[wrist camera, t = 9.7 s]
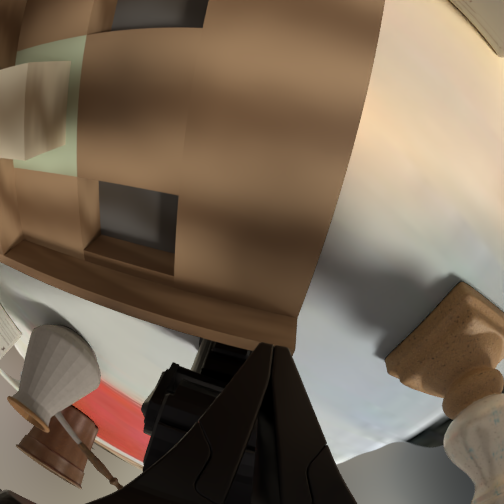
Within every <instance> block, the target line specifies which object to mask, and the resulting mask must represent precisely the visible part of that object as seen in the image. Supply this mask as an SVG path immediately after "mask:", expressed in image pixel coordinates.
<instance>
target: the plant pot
mask: <svg viewBox="0 0 504 504" xmlns="http://www.w3.org/2000/svg"><path fill="white" fill-rule="evenodd" d="M60 412H61V414H62V415H63V417H64V418H65V420H66V421H67V422H68V424H69V425H70V427H71V428H72V429H73V431H74V432H75V433H76V435H77V436H78V437H79V439H80V440H81V441H82V442H83V443H84V444H85V445H86V446H87V447H88V448H89V450H90V451H91V448H92V445H93V443H94V440H95V438H96V435H97V433H98V427H96V426H95V423H94V422H92V421H91V420H90V419H89V418H88V417H87V416H86V415H84V414H83V413H82V412H80V411H79V410H77V409H75V408H74V407H72V406H71V405H70V406H68V407H67V408H65V409H63V410H62V411H60ZM48 428H49V430H50V431H49V432H48V433H47V432H44V431H42V430H41V429H39V428H37V427H36V426H34V427H33V428H32V430H31V431H30V432H29V433H28V435H25V437H24V438H23V439H22V441H21V442H20V443H19V445H16V447H17V448H19V449H20V450H21V451H22V452H24V453H25V454H26V455H27V456H29V457H30V458H31V459H33V460H34V461H36V462H37V463H38V464H40V465H41V466H43V467H44V468H46V469H47V470H49V471H50V472H52V473H54V474H55V475H57V476H59V477H60V478H62V479H63V480H65V481H67V482H68V483H70V484H72V485H74V486H76V487H78V488H80V489H82V487H81V483H82V479H83V476H84V473H83V472H84V468H85V465H86V462H87V459H88V458H87V457H86V456H85V454H84V453H83V452H82V450H81V449H80V448H79V446H78V444H77V443H76V442H75V441H74V440H73V438H72V437H71V436H70V435H69V433H68V432H67V431H66V430H65V428H64V427H63V426H62V424H61V423H60V422H59V420H58V419H57V418H56V416H55V415H54V416H52V417H51V418H50V422H49V426H48Z"/></svg>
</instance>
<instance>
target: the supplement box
mask: <svg viewBox="0 0 504 504" xmlns="http://www.w3.org/2000/svg"><path fill="white" fill-rule="evenodd" d="M450 1H451V2H452V3H453V4H454V5H455V6H456V7H457V8H458V9H459V10H460V11H461V12H462V13H463V14H464V15H465V16H466V17H467V18H468V19H469V20H470V21H471V23H472V24H473V25H474V26H475V27H476V28H477V29H478V31H479V32H480V33H481V34H482V35H483V36H484V38H485V39H486V40H487V41H488V43H489V44H490V45H491V46H492V48H493V49H494V50H495V52H496V53H497V55H498V56H499V57H504V0H450Z"/></svg>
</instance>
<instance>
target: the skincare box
mask: <svg viewBox="0 0 504 504" xmlns="http://www.w3.org/2000/svg"><path fill="white" fill-rule="evenodd" d="M21 335H22V334H21V332H20V331H19V330H18V328H17V327H16V326H15V324H14V323H13V322H12V320H11V319H10V318H9V316H8V315H7V313H6V312H5V311H4V309H3V308H2V306H1V305H0V359H1V358H2V357H3V356H4V355H5V354H6V353H7V352H8V350H9V349H10V348H11V347H12V346H13V345H14V344H15V343H16V341H17V340H18V339H19V338H20V337H21Z"/></svg>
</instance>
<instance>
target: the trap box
mask: <svg viewBox="0 0 504 504" xmlns="http://www.w3.org/2000/svg"><path fill="white" fill-rule="evenodd" d="M384 3H385V0H0V70H1V69H5V68H9V67H12V66H16V65H20V64H24V63H30V62H46V61H71V67H70V76H69V85H68V96H67V111H66V143H65V145H64V146H61V147H58V148H55V149H53V150H50V151H48V152H45V153H42V154H40V155H38V156H35V157H33V158H30V159H28V160H26V161H23V160H15V159H6V158H0V262H1V263H4V264H6V265H8V266H10V267H12V268H14V269H16V270H18V271H20V272H22V273H24V274H27V275H29V276H31V277H33V278H35V279H38V280H40V281H42V282H44V283H47V284H49V285H51V286H54V287H56V288H58V289H61V290H63V291H66V292H68V293H70V294H73V295H75V296H78V297H80V298H83V299H86V300H88V301H91V302H93V303H96V304H99V305H101V306H104V307H107V308H110V309H112V310H115V311H118V312H121V313H124V314H126V315H129V316H132V317H135V318H138V319H141V320H144V321H147V322H150V323H153V324H157V325H160V326H163V327H166V328H169V329H173V330H176V331H179V332H183V333H186V334H190V335H193V336H197V337H200V338H204V339H208V340H211V341H215V342H219V343H223V344H227V345H231V346H235V347H239V348H243V349H247V350H251V351H254V349H255V348H256V347H257V345H258V344H259V343H260V342H264V343H269V344H273V345H274V346H275V345H279V346H284V347H287V348H289V350H290V353H291V355H292V356H293V353H294V351H295V344H296V330H297V317H298V315H299V312H300V309H301V307H302V304H303V301H304V299H305V296H306V293H307V290H308V288H309V285H310V282H311V279H312V277H313V274H314V271H315V268H316V265H317V262H318V259H319V256H320V253H321V251H322V248H323V245H324V242H325V239H326V236H327V232H328V229H329V226H330V223H331V220H332V217H333V214H334V211H335V207H336V204H337V201H338V198H339V194H340V191H341V188H342V184H343V181H344V177H345V174H346V170H347V167H348V163H349V160H350V156H351V153H352V149H353V145H354V142H355V138H356V134H357V130H358V126H359V123H360V119H361V115H362V111H363V106H364V102H365V98H366V94H367V90H368V85H369V81H370V76H371V72H372V67H373V62H374V58H375V53H376V48H377V43H378V37H379V32H380V27H381V21H382V15H383V9H384Z"/></svg>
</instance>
